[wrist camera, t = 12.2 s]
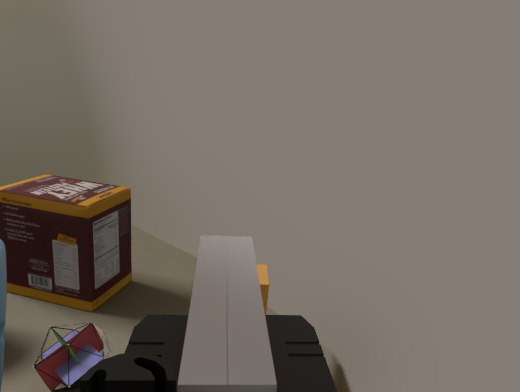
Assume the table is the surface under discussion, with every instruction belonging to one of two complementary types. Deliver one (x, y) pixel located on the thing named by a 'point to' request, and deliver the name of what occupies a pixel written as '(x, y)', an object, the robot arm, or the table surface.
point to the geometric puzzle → (72, 356)
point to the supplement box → (66, 240)
